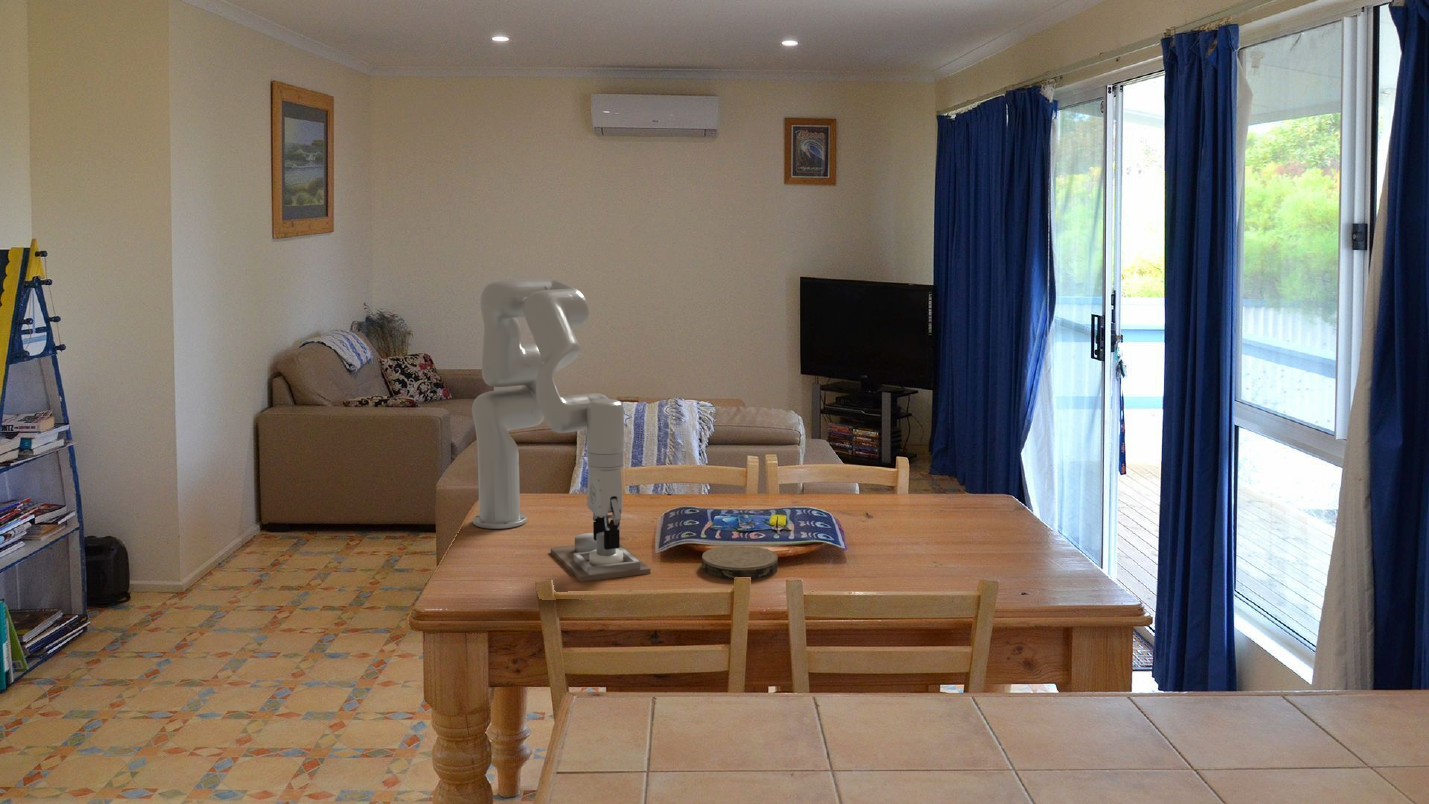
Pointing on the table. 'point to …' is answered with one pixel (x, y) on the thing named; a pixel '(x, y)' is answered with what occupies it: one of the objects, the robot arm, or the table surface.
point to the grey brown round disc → (739, 562)
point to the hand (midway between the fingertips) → (606, 543)
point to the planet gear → (604, 553)
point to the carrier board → (579, 566)
